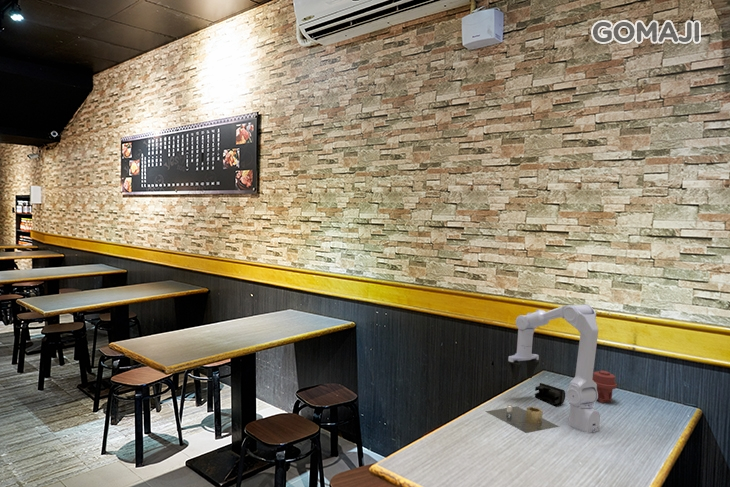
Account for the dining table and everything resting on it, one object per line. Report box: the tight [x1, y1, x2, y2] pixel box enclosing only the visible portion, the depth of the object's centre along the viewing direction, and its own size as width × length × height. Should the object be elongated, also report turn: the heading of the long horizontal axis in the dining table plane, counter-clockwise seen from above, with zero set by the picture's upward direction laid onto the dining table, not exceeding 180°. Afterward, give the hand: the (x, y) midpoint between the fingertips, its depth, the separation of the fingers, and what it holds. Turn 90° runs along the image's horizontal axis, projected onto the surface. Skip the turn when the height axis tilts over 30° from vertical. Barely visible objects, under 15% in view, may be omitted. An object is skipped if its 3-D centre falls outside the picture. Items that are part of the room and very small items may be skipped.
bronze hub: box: [526, 406, 543, 424], centre depth 173 cm, size 5×5×4 cm
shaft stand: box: [485, 404, 560, 434], centre depth 174 cm, size 20×16×6 cm
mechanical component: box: [592, 370, 618, 404], centre depth 204 cm, size 12×10×10 cm
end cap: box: [534, 382, 566, 408], centre depth 198 cm, size 10×7×7 cm
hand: (522, 378), depth 195 cm, fingers open, 7 cm apart
